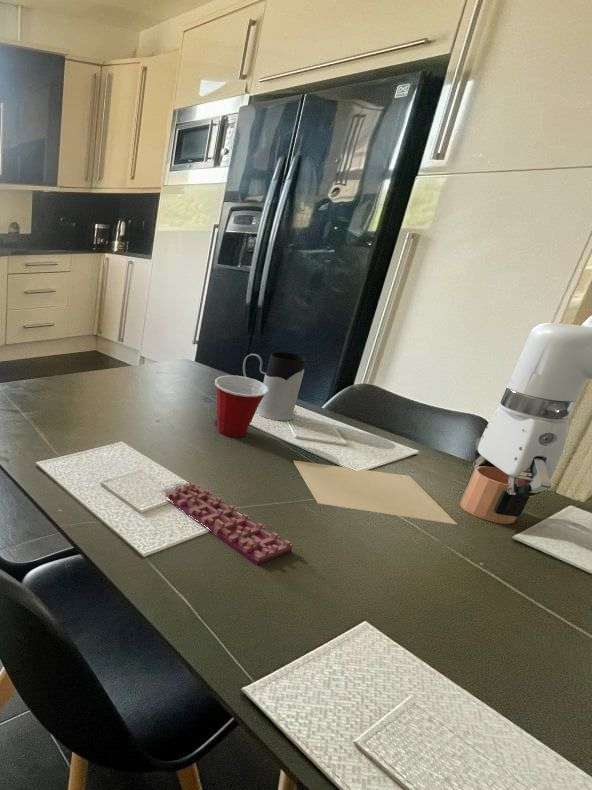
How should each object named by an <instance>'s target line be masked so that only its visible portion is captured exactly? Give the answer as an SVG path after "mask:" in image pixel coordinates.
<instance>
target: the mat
mask: <svg viewBox="0 0 592 790" xmlns="http://www.w3.org/2000/svg"><path fill="white" fill-rule="evenodd" d="M292 462H293V464H294V465H295V467H296V469H297V470H298V472H299V474H300V476H301V477H302V479H303V481H304V482H305V485H306V486H307V488H308V489H309V491H310V493H311V495H312V496H313V498H314V500H315V501H316V503H317V504H320V505H327V506H333V507H339V508H347V509H352V510H358V511H366V512H373V513H379V514H386V515H393V516H399V517H406V518H412V519H419V520H426V521H431V522H439V523H444V524H452V525H458V523H457V522H456V521H455V520H454V519H453V518H452V517H451V516H450V515H449V514H448V513H447V512H446V511H445V510H444V509H443V508H442V507H441V506H440V505H439V504H438V503H437V502H436V501H435V500H434V498H432V497H431V496H430V495H429V494H428V493H427V492H426V491H425V490H424V489H423V488H422V486H420V485H419V484H418V483H417V481H415V480H414V479H413V477H411V476H410V475H407V474H398V473H392V472H391V473H390V472H384V471H383V472H382V471H376V470H368V469H362V470H363V471H354V470H351V469H349V468H350V467H345V466H338V465H330V464H323V463H315V462H307V461H301V460H292Z"/></svg>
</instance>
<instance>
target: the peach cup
mask: <svg viewBox="0 0 592 790" xmlns="http://www.w3.org/2000/svg"><path fill="white" fill-rule="evenodd" d="M474 468H475V467H474ZM474 468H473V469H474ZM472 471H473V470H472ZM471 474H472V476H471V475H470V476H471V478H470V477H469V478H470V480H469V479H468V481H469V483H468V482H467V483H468V485H467V484H466V485H467V487H466V486H465V490H464V492H463V494H462V497H461V499H460V503H459V506H460V507H461V509H463V511H465V512H467V513H469V514H470V515H472V516H474V517H476V518H479V519H481V520H484V521H488V522H491V523H495V524H502V525H511V524H514V523H515V522H516V520H517V519H518V517H515V516H508V515H501V514H497V513H495V512H494V509H495V507H496V504H497V502H498V500H499V498H500V496H501V494H502V492H503V491H507V485H508V475H507V474H506V473H504V472H503V471H502V470H500V469H499V468H496V467H489V466H478V467H476V468H475V469H474V471H473V473H472V472H471ZM524 484H525V480H520V479H518V485H517V486H521V485H524Z"/></svg>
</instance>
